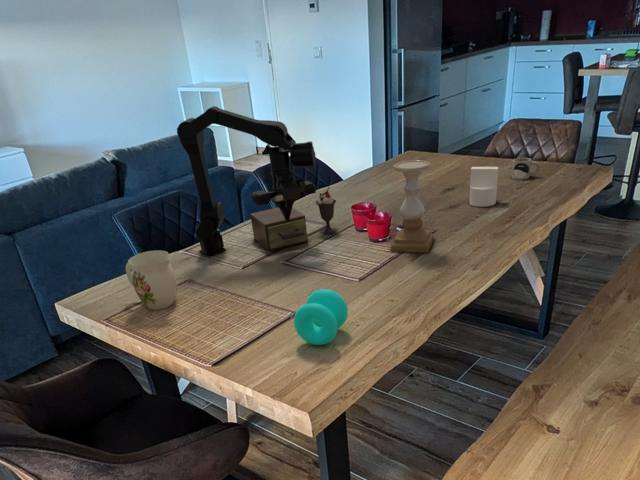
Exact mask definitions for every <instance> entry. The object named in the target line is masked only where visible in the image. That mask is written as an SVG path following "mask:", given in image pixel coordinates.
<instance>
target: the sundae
mask: <svg viewBox="0 0 640 480" xmlns="http://www.w3.org/2000/svg"><path fill="white" fill-rule="evenodd" d="M329 189H331V187H330V186H328V187H327V189H326V191H325V192H323V193H319V197H318V198H319V199H318V200H316V201H315V204H316V205H317V206H318V209H319V214H320V219H321V220H322V221H324V222H325V228H323V229H322V230H321V231H320V232H321V234H323V235H324V234H325V235H330V234H334V233H336V232H337V229H335V228H332V227H331V223H330V222H331V220H333V218H334V213H335V204H336V203H337V199H334V198H333V197H332V195H331V193H330V191H329Z"/></svg>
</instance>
